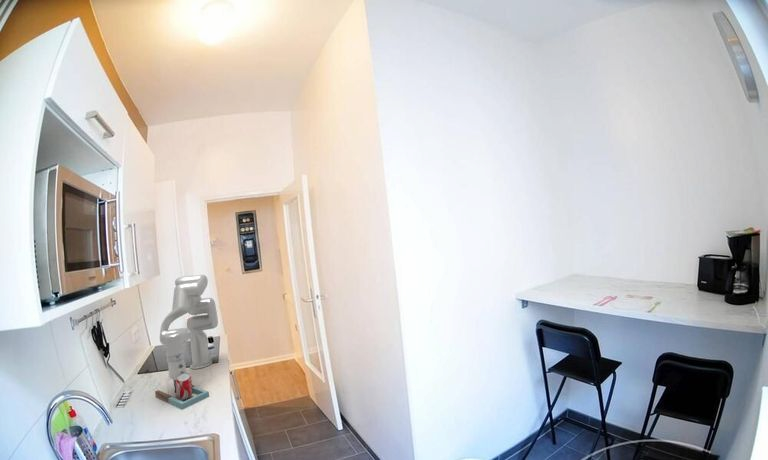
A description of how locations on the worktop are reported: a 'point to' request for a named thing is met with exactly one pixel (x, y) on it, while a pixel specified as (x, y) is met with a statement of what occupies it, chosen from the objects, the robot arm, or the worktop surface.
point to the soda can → (183, 386)
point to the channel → (163, 395)
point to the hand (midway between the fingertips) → (179, 392)
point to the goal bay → (201, 395)
